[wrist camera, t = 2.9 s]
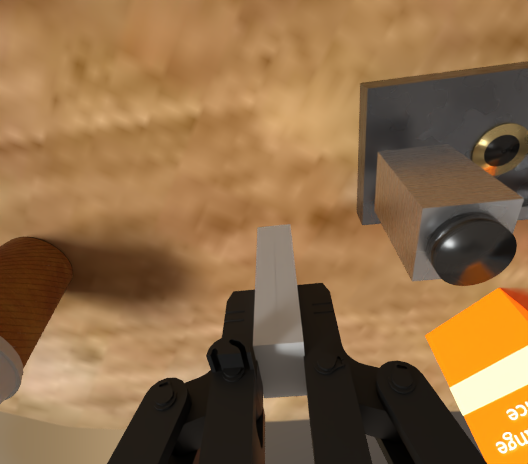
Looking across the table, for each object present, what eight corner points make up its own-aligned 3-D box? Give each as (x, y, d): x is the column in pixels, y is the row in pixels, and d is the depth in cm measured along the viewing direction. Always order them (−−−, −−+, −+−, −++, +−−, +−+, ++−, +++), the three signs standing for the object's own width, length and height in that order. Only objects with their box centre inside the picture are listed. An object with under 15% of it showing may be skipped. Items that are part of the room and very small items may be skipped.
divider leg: (431, 131, 22) (540, 210, 13) (423, 188, 24) (512, 288, 15) (367, 139, 22) (432, 220, 13) (365, 194, 24) (419, 295, 15)
